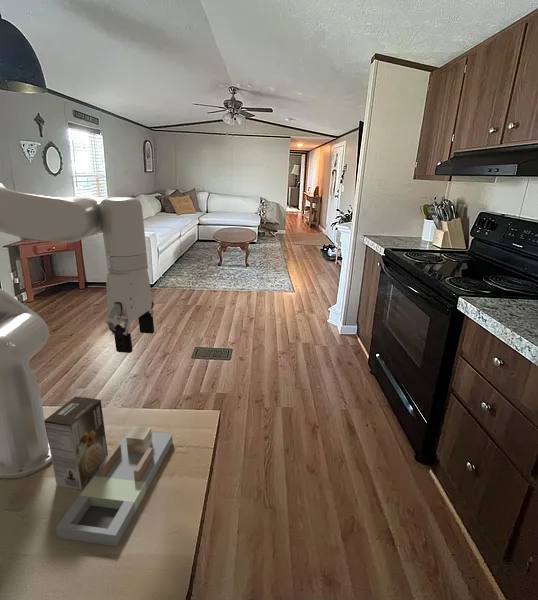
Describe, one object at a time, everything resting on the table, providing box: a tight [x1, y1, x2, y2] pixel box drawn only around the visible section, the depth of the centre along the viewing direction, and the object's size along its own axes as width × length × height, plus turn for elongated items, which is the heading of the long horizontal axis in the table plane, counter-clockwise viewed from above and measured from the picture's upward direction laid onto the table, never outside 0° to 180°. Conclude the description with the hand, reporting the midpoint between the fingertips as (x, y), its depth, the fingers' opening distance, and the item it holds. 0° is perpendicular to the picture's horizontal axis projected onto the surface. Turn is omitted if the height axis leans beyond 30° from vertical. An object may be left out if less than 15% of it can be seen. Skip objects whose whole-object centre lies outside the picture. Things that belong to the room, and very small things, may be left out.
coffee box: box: [44, 396, 109, 491], centre depth 78 cm, size 9×6×16 cm
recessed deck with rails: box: [55, 429, 174, 547], centre depth 78 cm, size 11×27×5 cm, turn 173°
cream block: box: [126, 426, 152, 454], centre depth 84 cm, size 4×4×4 cm
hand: (136, 341), depth 79 cm, fingers open, 9 cm apart
